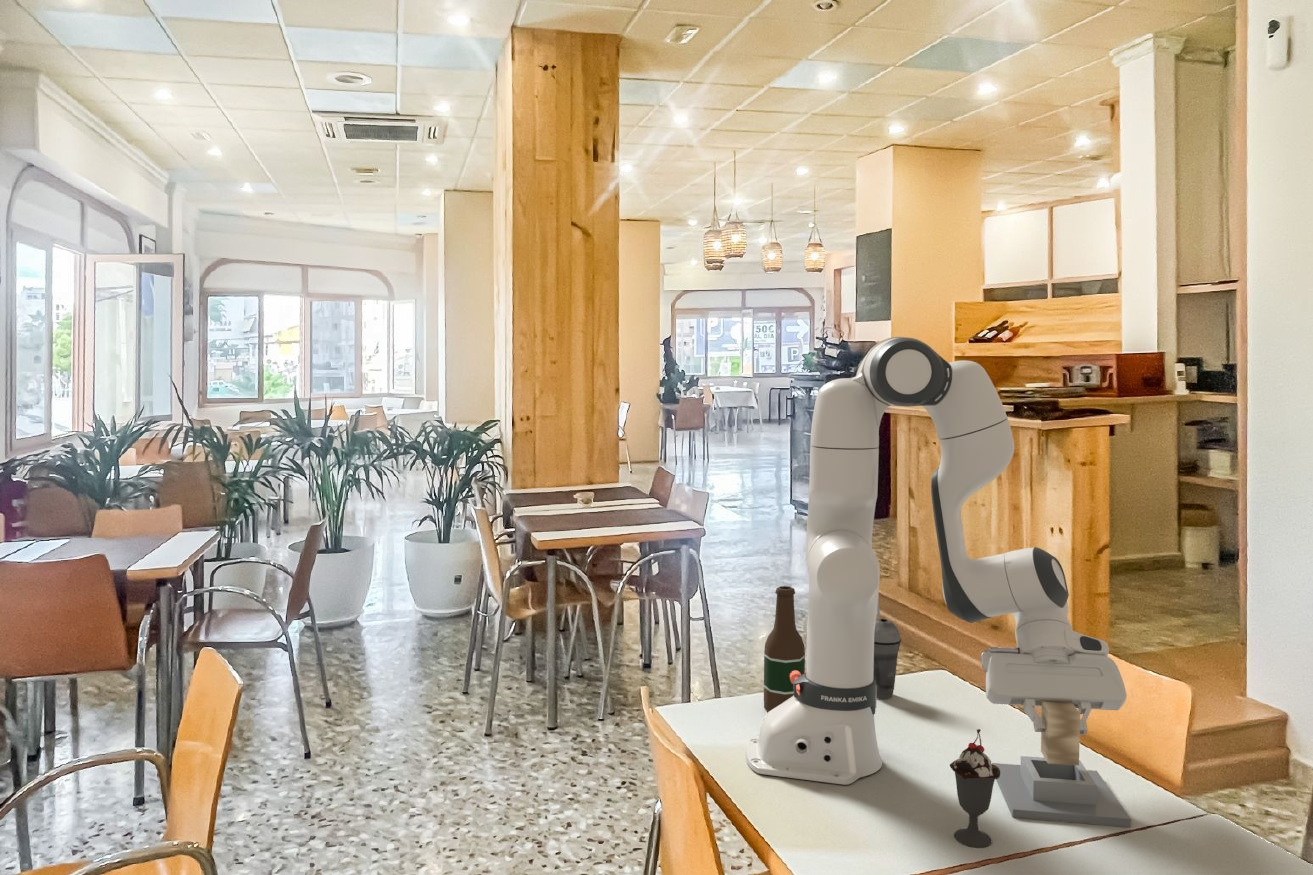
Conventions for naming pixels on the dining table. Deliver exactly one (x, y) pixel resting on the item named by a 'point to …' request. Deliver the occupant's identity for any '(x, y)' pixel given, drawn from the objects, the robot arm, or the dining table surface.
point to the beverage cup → (885, 656)
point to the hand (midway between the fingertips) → (1061, 731)
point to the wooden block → (1061, 733)
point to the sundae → (974, 791)
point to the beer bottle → (782, 651)
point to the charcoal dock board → (1059, 793)
